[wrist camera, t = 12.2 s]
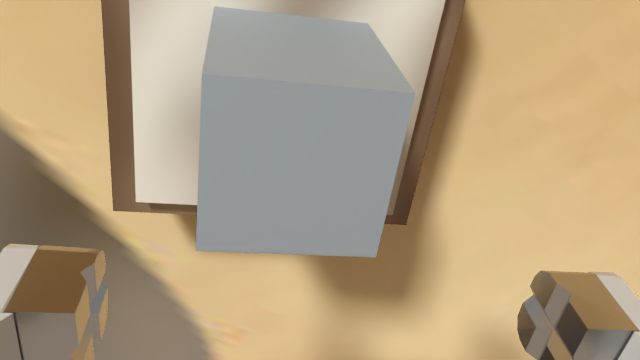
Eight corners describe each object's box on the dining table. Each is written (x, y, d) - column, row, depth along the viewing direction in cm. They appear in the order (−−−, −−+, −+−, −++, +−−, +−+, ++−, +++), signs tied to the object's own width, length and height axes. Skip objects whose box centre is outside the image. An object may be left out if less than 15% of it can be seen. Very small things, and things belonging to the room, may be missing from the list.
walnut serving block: (439, -95, 22) (495, -77, 17) (381, 166, 28) (410, 236, 23) (125, -143, 20) (86, -137, 15) (134, 150, 26) (109, 222, 21)
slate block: (368, 23, 18) (415, 92, 13) (344, 156, 21) (375, 257, 16) (214, 6, 18) (201, 73, 12) (208, 146, 20) (195, 250, 15)
